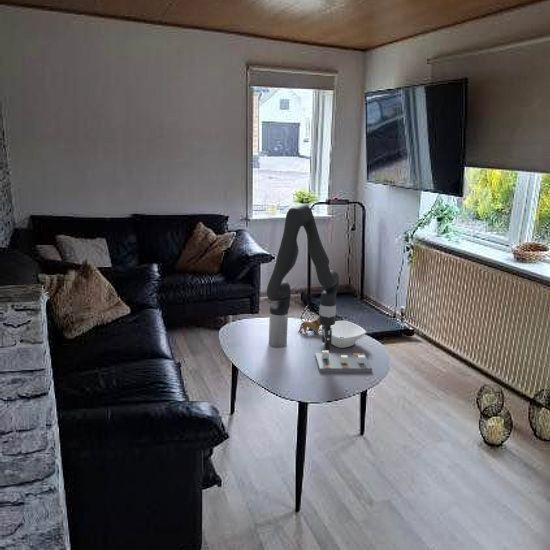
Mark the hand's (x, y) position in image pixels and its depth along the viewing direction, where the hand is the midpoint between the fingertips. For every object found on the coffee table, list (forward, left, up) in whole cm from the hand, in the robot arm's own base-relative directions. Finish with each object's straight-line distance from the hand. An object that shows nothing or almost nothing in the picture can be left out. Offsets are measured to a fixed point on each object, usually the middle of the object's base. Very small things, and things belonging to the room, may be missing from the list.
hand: (325, 346), depth 232 cm
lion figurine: (-36, -2, -9) cm, 37 cm away
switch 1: (-1, 0, -6) cm, 6 cm away
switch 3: (+4, +16, -6) cm, 18 cm away
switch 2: (+4, +8, -6) cm, 11 cm away
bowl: (-21, +12, -9) cm, 26 cm away
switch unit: (+2, +8, -9) cm, 12 cm away
